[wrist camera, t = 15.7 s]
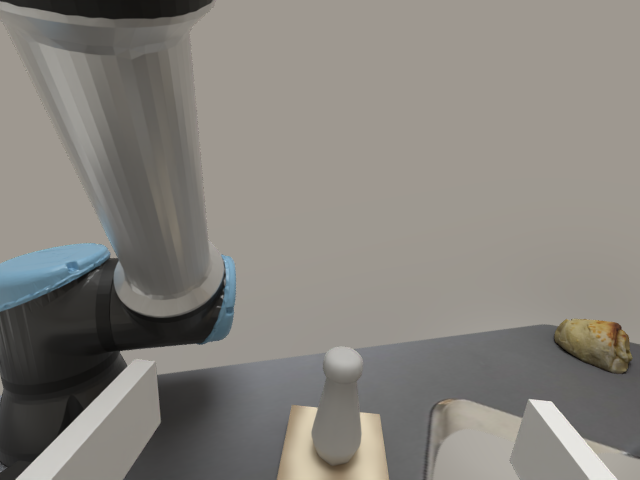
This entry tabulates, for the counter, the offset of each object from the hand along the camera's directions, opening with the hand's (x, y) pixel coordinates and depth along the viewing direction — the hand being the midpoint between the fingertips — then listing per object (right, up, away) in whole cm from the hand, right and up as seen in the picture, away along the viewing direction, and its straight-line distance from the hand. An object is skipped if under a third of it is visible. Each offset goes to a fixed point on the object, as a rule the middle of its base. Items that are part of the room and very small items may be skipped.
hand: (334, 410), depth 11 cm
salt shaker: (+1, -19, +26) cm, 32 cm away
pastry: (+57, -18, +56) cm, 81 cm away
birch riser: (+1, -21, +27) cm, 34 cm away
